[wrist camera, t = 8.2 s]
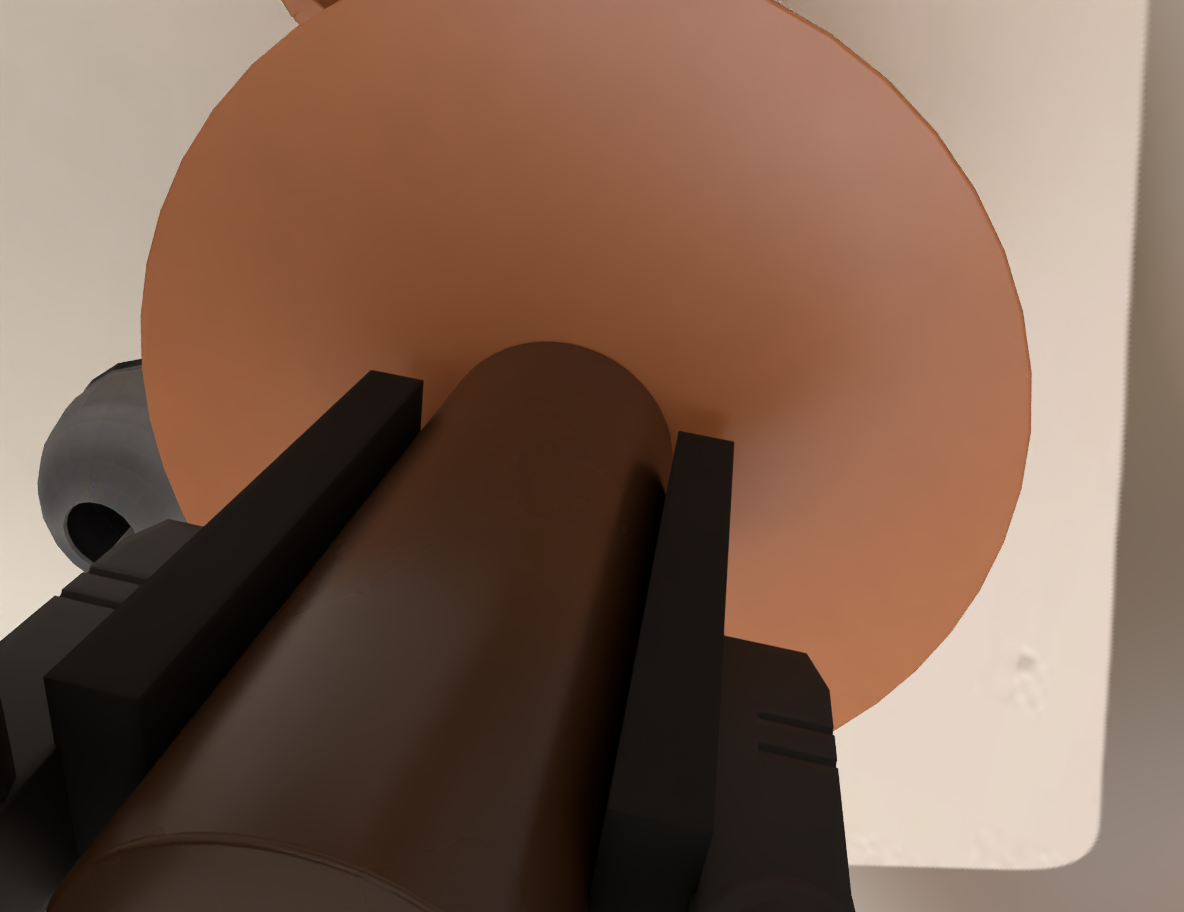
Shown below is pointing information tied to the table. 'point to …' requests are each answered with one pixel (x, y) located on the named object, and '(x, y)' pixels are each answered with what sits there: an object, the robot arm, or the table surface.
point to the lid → (551, 421)
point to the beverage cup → (104, 469)
